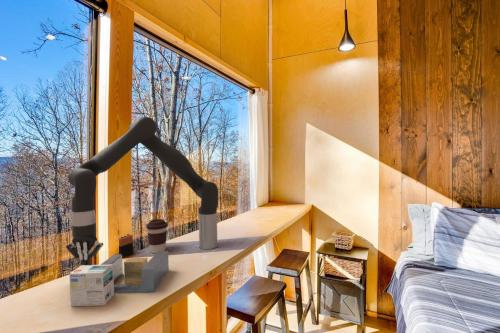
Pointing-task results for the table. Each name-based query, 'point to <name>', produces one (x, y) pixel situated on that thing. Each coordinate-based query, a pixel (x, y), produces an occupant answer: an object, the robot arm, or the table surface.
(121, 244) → the battery
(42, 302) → the table surface
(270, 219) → the table surface
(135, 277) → the block
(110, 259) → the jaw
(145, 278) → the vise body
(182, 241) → the table surface
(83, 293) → the light bulb box
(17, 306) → the table surface
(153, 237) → the coffee cup
